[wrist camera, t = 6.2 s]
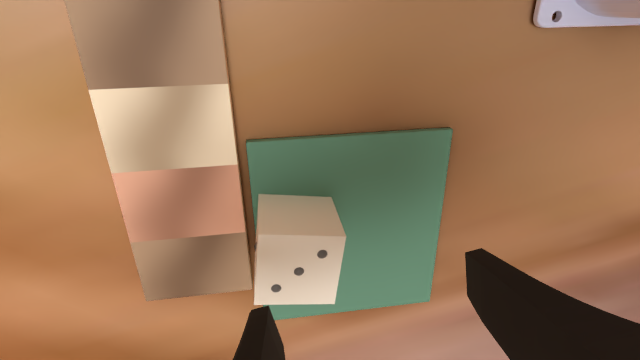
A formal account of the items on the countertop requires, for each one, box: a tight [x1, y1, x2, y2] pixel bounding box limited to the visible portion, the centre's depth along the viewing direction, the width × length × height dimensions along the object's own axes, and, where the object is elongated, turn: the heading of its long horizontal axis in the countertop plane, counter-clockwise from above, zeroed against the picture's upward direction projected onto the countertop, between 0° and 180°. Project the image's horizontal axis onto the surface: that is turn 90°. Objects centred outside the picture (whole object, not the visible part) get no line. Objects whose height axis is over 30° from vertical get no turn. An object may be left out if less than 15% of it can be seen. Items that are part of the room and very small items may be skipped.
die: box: [254, 194, 346, 305], centre depth 20 cm, size 4×4×4 cm
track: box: [64, 0, 253, 301], centre depth 18 cm, size 6×20×1 cm, turn 1°
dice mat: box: [246, 127, 453, 320], centre depth 22 cm, size 11×12×1 cm
